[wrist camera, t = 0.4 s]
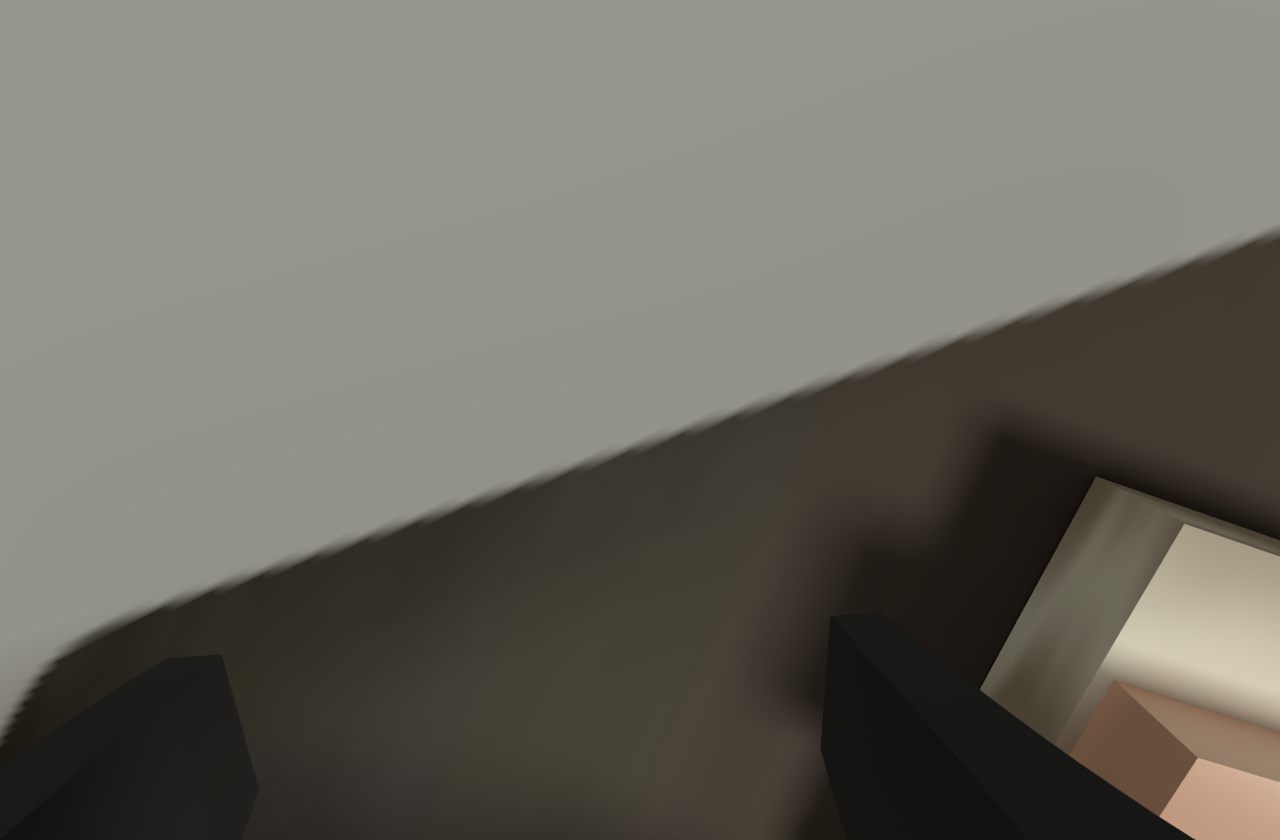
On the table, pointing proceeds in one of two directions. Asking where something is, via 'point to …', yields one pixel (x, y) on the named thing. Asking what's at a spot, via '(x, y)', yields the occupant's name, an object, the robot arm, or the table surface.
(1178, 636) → the bench plate
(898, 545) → the table surface
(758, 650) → the table surface
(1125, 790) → the tile
